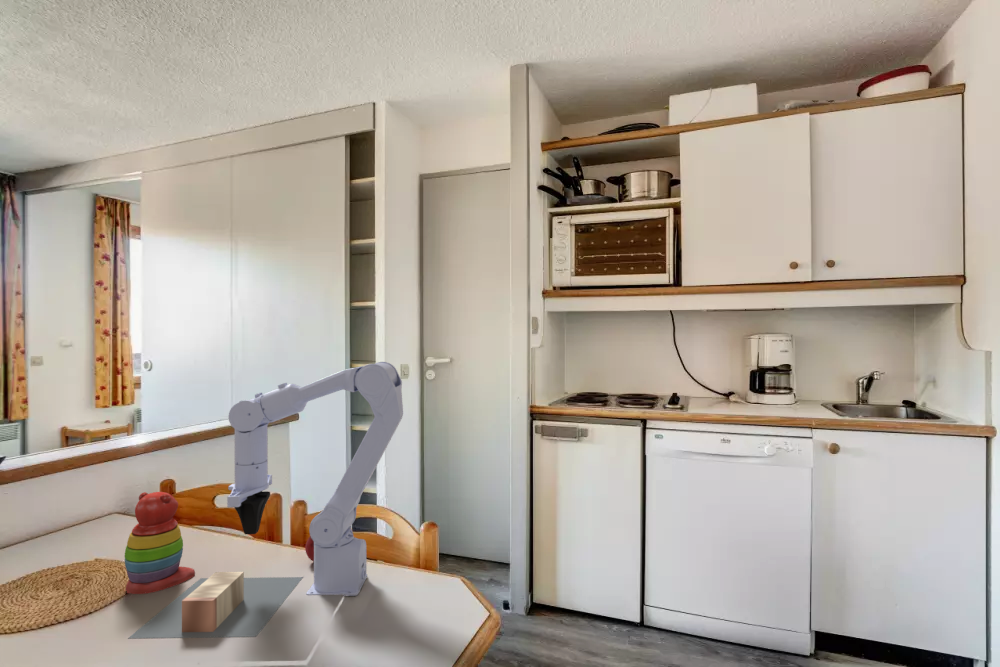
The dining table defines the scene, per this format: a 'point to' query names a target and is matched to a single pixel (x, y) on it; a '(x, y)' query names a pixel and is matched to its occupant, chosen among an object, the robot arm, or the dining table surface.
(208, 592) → the beech block
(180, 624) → the slate mat
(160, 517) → the stacking bear
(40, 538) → the dining table surface
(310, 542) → the onion
